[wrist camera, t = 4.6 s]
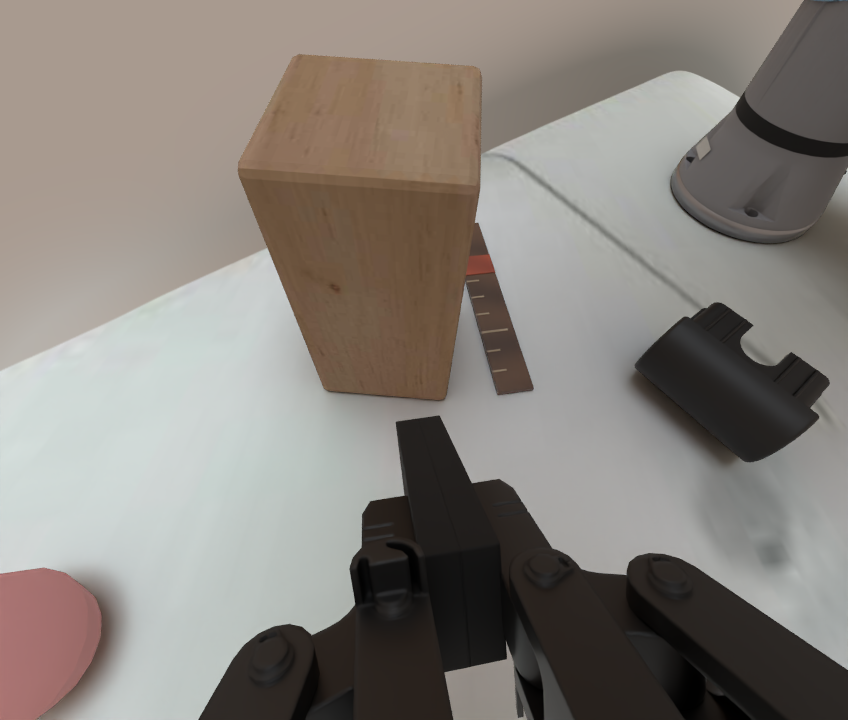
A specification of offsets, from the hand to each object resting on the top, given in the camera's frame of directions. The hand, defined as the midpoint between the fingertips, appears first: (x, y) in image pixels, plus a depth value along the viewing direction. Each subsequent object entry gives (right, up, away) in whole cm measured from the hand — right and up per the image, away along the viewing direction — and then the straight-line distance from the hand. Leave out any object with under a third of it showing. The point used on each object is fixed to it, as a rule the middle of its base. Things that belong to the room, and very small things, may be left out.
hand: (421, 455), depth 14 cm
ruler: (+6, +9, +25) cm, 27 cm away
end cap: (+22, 0, +20) cm, 30 cm away
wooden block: (-3, +4, +22) cm, 23 cm away
